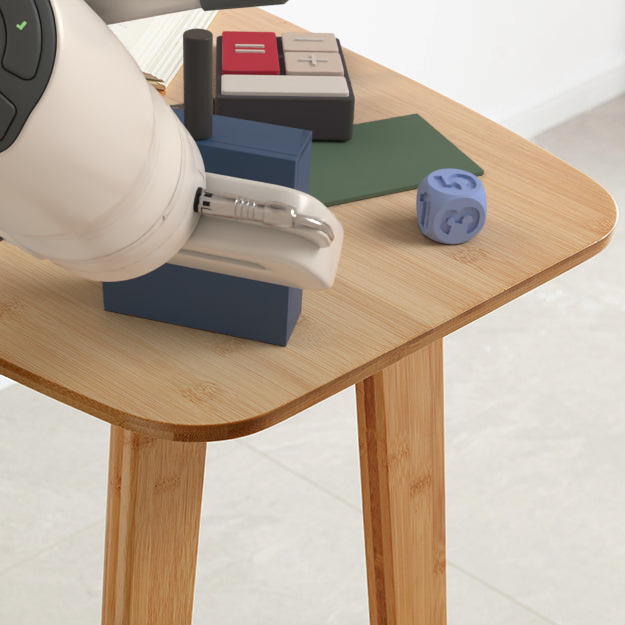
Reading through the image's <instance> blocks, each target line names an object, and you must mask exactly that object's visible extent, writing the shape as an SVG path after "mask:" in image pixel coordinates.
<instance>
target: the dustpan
mask: <svg viewBox="0 0 625 625" xmlns="http://www.w3.org/2000/svg"><path fill="white" fill-rule="evenodd" d="M182 71H183V72H182V74H183V75H182V76H183V77H182V78H183V83H182V84H183V108H177V107H171V109H172V110H173V111H174V113H175V114H176V115H177V117H178V118H179V120H180V121H181V122H182V124H183V125H184V126H185V128H186V129H187V130H188V132H189V133H190V135H191V136H192V138H193V139H194V141H195V143H196V145H197V147H198V149H199V151H200V154H201V156H202V160H203V164H204V168H205V172H208V173H213V174H219V175H224V176H230V177H235V178H241V179H247V180H252V181H258V182H263V183H269V184H274V185H279V186H283V187H288V188H291V189H295V190H298V191H301V192H304V193H306V194H308V195H309V178H310V162H311V146H312V131H309V130H303V129H297V128H291V127H285V126H279V125H273V124H267V123H261V122H255V121H249V120H243V119H237V118H231V117H225V116H219V115H215V114H214V113H213V109H214V108H213V107H214V105H213V104H214V35H213V33H212V32H211V30H208V29H205V28H190V29H189V28H188V29H187V30H185V31H183V33H182ZM101 286H102V299H103V300H102V301H103V310H104V311H107V312H112V313H118V314H123V315H128V316H132V317H138V318H141V319H142V318H143V319H147V320H152V321H156V322H157V321H158V322H161V323H168V324H171V325H178V326H183V327H187V328H192V329H198V330H202V331H207V332H212V333H217V334H222V335H226V336H232V337H237V338H242V339H247V340H251V341H255V342H260V343H261V342H262V343H266V344H272V345H275V346H280V347H281V346H282V347H287V345H288V343H289V340H290V338H291V336H292V333H293V331H294V329H295V326H296V325H297V323H298V320H299V318H300V316H301V314H302V306H303V305H302V304H303V290H304V289H299V288H293V287H288V286H283V285H278V284H273V283H268V282H263V281H257V280H252V279H247V278H242V277H237V276H232V275H226V274H221V273H216V272H211V271H206V270H201V269H196V268H190V267H185V266H180V265H175V264H170V263H164V264H163V265H161V266H160V267H158V268H156V269H155V270H153V271H151V272H149V273H147V274H145V275H142V276H139V277H136V278H132V279H128V280H123V281H113V282H104V281H101Z"/></svg>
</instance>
